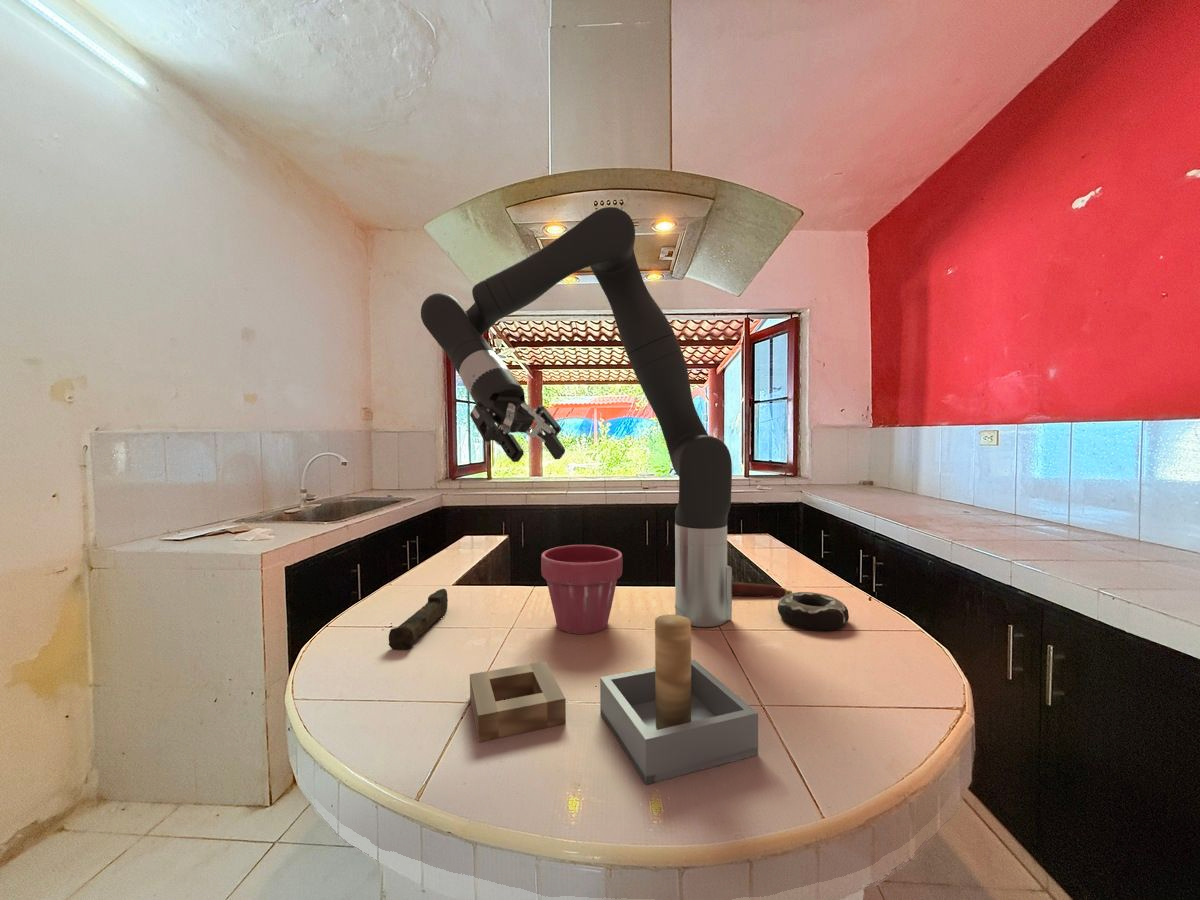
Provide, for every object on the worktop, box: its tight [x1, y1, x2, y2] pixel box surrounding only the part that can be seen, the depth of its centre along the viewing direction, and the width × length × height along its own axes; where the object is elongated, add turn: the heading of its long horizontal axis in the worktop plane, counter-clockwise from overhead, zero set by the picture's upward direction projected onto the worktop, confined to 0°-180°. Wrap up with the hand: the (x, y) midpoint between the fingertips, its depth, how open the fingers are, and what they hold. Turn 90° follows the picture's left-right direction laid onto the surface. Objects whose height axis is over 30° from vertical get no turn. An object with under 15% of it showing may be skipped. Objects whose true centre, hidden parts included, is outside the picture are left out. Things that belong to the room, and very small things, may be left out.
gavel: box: [732, 581, 793, 598], centre depth 104 cm, size 21×5×10 cm
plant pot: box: [540, 544, 623, 635], centre depth 88 cm, size 14×14×13 cm
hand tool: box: [388, 588, 449, 651], centre depth 88 cm, size 19×4×5 cm, turn 173°
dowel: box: [654, 614, 692, 730], centre depth 57 cm, size 4×4×12 cm
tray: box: [599, 659, 759, 786], centre depth 57 cm, size 13×13×4 cm
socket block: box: [469, 661, 567, 743], centre depth 62 cm, size 10×10×3 cm
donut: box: [777, 591, 850, 632], centre depth 90 cm, size 12×12×4 cm
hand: (541, 456), depth 75 cm, fingers open, 8 cm apart
